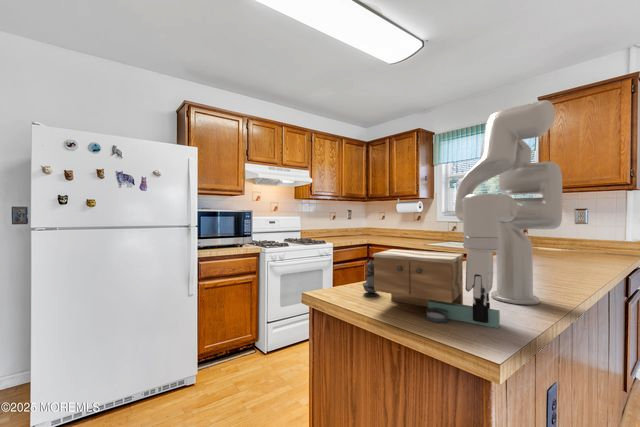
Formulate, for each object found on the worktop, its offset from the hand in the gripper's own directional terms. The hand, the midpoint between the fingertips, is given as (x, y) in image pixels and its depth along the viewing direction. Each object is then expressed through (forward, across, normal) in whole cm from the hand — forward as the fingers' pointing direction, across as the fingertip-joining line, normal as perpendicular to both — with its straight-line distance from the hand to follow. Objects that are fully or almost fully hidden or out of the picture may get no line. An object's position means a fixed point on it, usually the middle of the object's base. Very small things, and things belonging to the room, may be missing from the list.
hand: (481, 319), depth 71 cm
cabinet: (+1, -1, -16) cm, 16 cm away
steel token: (+1, +4, -10) cm, 10 cm away
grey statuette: (+1, -8, -34) cm, 35 cm away
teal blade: (+1, 0, -4) cm, 4 cm away
